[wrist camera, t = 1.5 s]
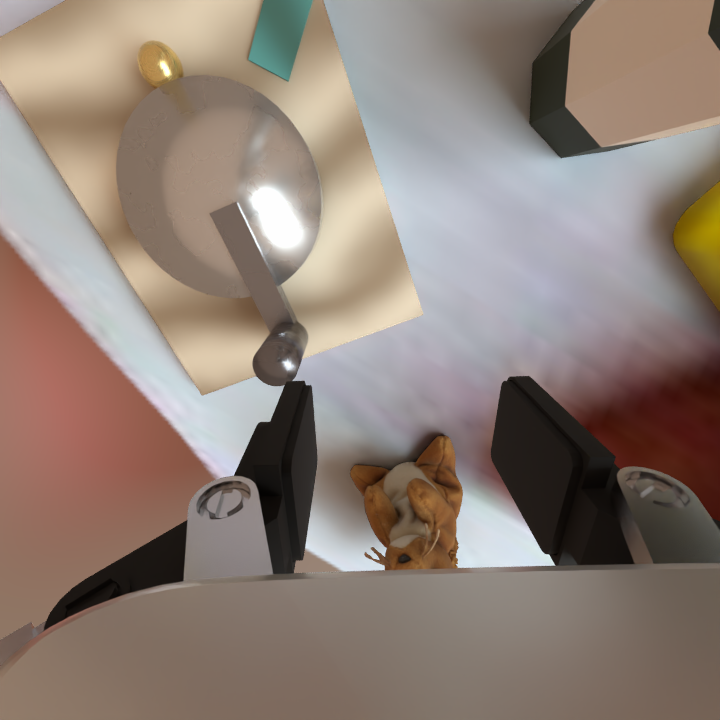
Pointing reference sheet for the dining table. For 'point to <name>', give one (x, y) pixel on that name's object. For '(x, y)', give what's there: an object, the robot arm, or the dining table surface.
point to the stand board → (267, 76)
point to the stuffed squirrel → (414, 508)
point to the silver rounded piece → (222, 195)
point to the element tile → (702, 241)
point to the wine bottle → (627, 74)
